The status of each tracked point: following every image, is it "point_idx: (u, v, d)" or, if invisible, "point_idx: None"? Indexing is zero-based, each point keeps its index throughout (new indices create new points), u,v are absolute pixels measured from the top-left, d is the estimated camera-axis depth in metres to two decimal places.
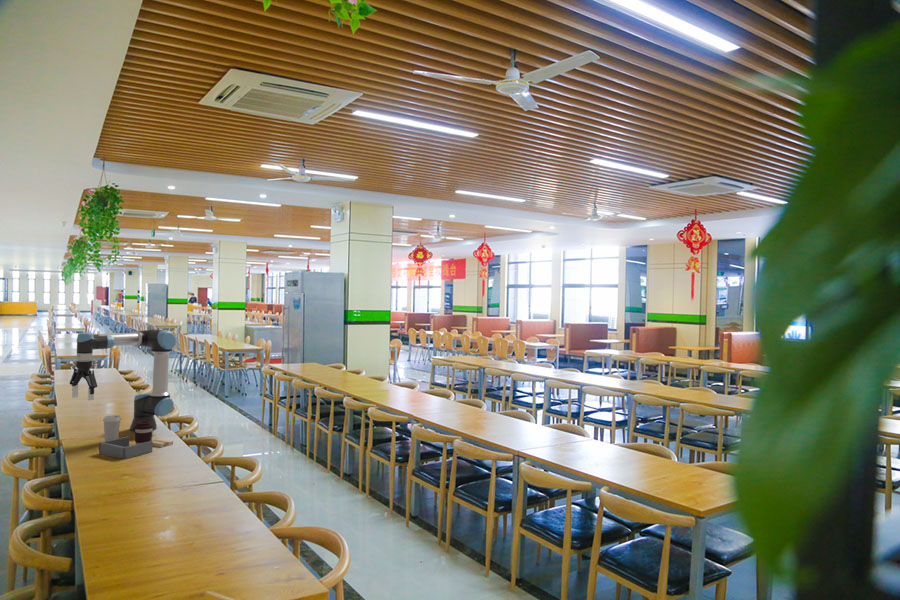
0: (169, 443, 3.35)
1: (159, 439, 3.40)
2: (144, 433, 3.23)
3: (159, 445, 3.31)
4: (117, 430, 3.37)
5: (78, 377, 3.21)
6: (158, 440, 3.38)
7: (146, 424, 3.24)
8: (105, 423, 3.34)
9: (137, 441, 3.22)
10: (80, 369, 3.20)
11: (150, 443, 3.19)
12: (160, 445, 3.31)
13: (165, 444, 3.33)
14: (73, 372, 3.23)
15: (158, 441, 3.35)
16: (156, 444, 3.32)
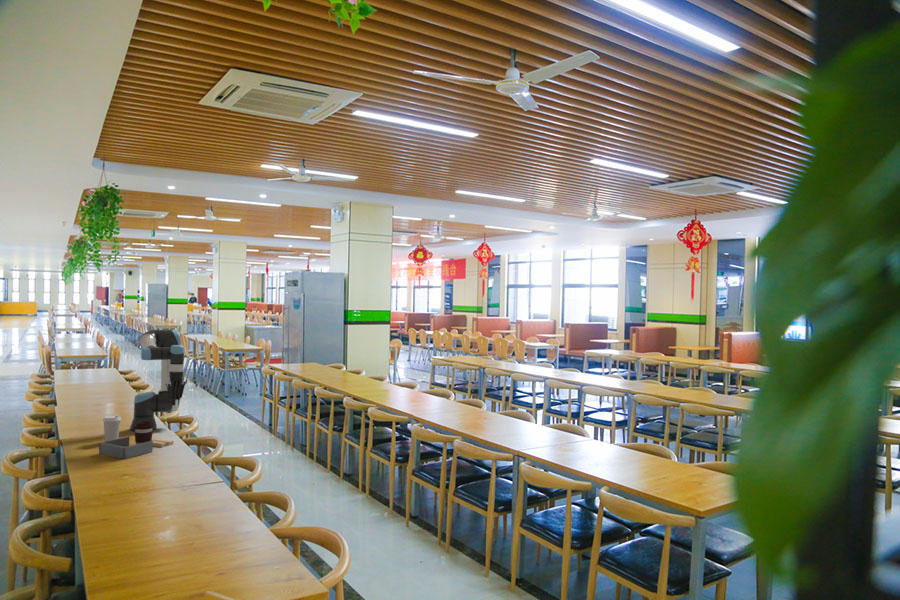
0: (170, 443, 3.36)
1: (158, 439, 3.40)
2: (144, 433, 3.23)
3: (160, 445, 3.31)
4: (117, 430, 3.37)
5: None
6: (158, 440, 3.37)
7: (146, 424, 3.24)
8: (105, 423, 3.34)
9: (137, 441, 3.22)
10: None
11: (150, 443, 3.19)
12: (161, 445, 3.31)
13: (166, 444, 3.33)
14: None
15: (158, 441, 3.35)
16: (157, 444, 3.32)
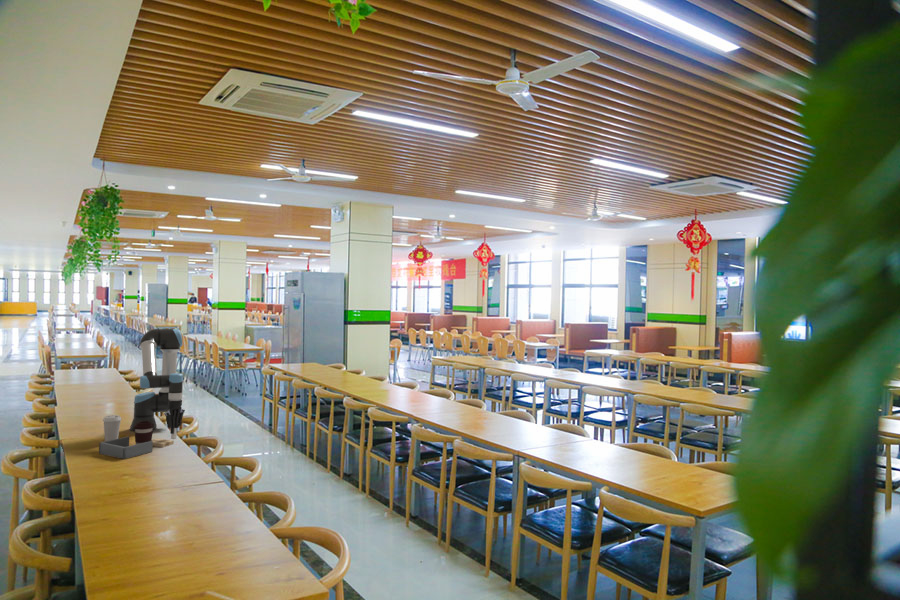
0: (170, 443, 3.36)
1: (158, 439, 3.40)
2: (144, 433, 3.23)
3: (160, 445, 3.31)
4: (117, 430, 3.37)
5: None
6: (158, 440, 3.37)
7: (146, 424, 3.24)
8: (105, 423, 3.34)
9: (137, 441, 3.22)
10: None
11: (150, 443, 3.19)
12: (161, 445, 3.31)
13: (166, 444, 3.33)
14: None
15: (158, 441, 3.35)
16: (157, 444, 3.32)
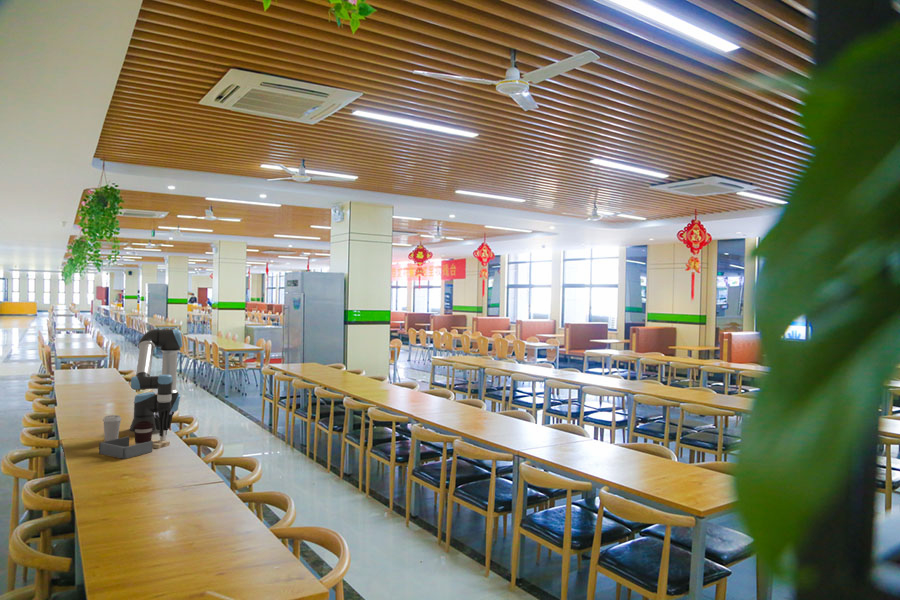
0: (166, 444, 3.33)
1: (154, 440, 3.37)
2: (144, 433, 3.22)
3: (156, 446, 3.28)
4: (117, 430, 3.37)
5: None
6: (154, 441, 3.34)
7: (146, 424, 3.24)
8: (105, 423, 3.34)
9: (137, 441, 3.22)
10: None
11: (150, 443, 3.19)
12: (157, 446, 3.28)
13: (162, 445, 3.30)
14: None
15: (154, 442, 3.32)
16: (153, 445, 3.29)
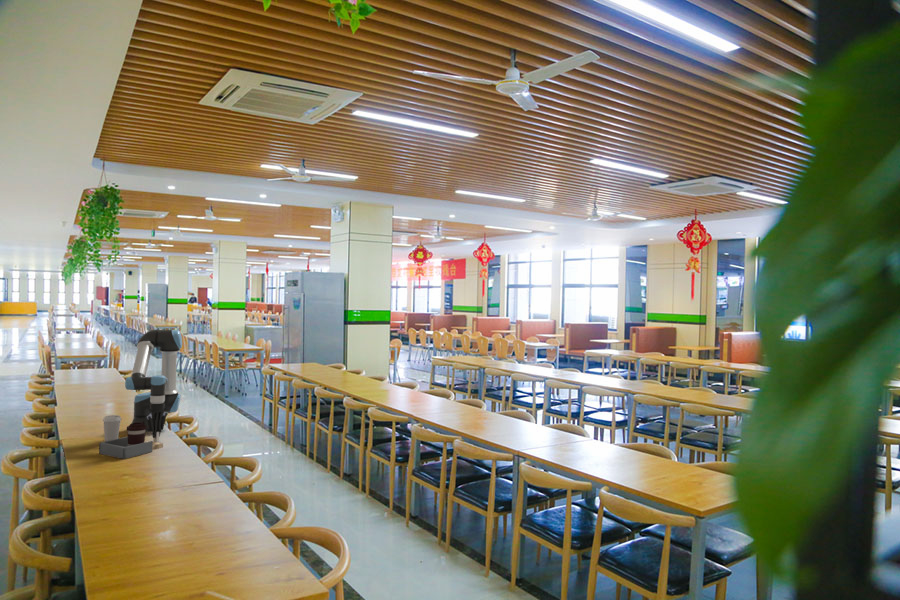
0: (159, 445, 3.28)
1: (148, 441, 3.33)
2: (137, 435, 3.18)
3: None
4: (117, 430, 3.37)
5: None
6: None
7: (139, 425, 3.20)
8: (105, 423, 3.34)
9: (130, 443, 3.18)
10: None
11: (150, 443, 3.19)
12: None
13: (155, 446, 3.26)
14: None
15: None
16: None
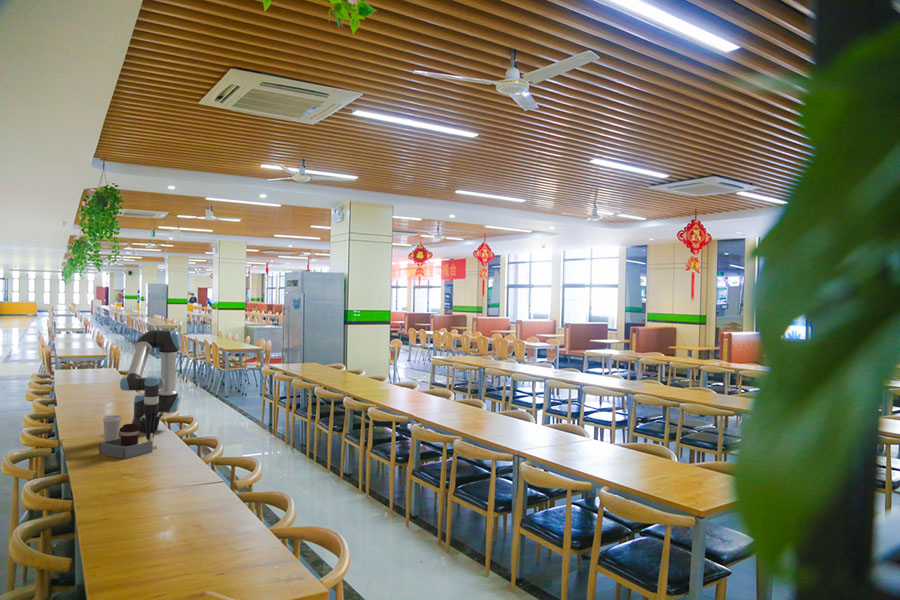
0: (152, 447, 3.24)
1: None
2: (129, 436, 3.15)
3: None
4: (117, 430, 3.37)
5: None
6: None
7: (132, 427, 3.16)
8: (105, 423, 3.34)
9: (122, 444, 3.15)
10: None
11: (150, 443, 3.19)
12: None
13: None
14: None
15: None
16: None
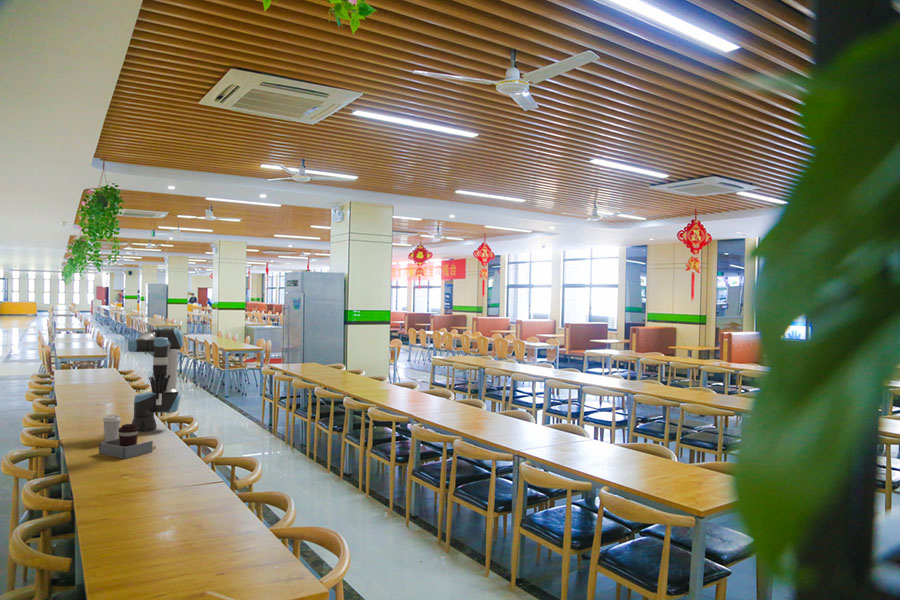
0: None
1: None
2: (128, 436, 3.14)
3: None
4: (117, 430, 3.37)
5: None
6: None
7: (130, 427, 3.15)
8: (105, 423, 3.34)
9: (121, 444, 3.14)
10: None
11: (150, 443, 3.19)
12: None
13: None
14: None
15: None
16: None
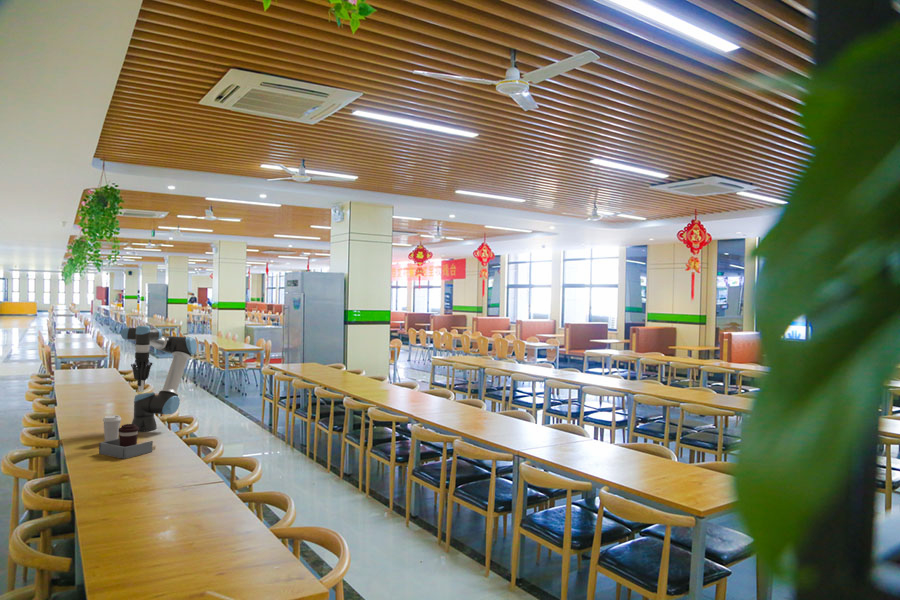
0: None
1: None
2: (128, 436, 3.14)
3: None
4: (117, 430, 3.37)
5: None
6: None
7: (130, 427, 3.15)
8: (105, 423, 3.34)
9: (121, 444, 3.14)
10: None
11: (150, 443, 3.19)
12: None
13: None
14: None
15: None
16: None
